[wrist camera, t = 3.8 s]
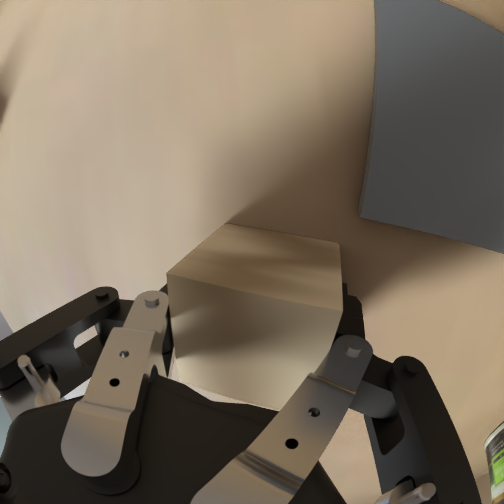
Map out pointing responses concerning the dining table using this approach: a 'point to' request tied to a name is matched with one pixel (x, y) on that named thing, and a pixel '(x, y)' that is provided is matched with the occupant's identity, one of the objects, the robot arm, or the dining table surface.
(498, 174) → the pad
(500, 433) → the coffee can
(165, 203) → the dining table surface
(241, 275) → the maple block
